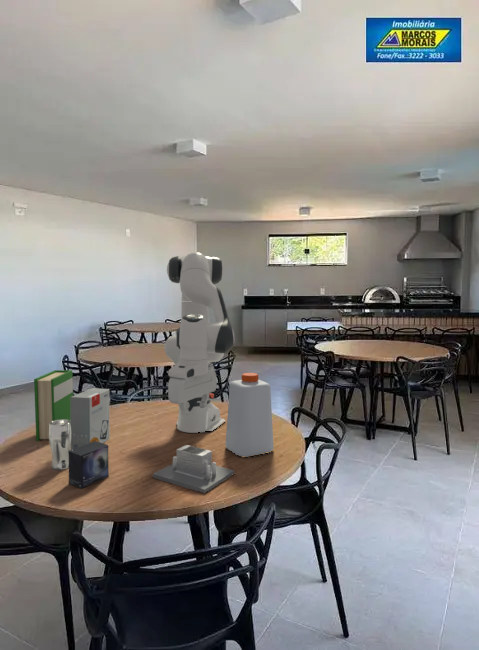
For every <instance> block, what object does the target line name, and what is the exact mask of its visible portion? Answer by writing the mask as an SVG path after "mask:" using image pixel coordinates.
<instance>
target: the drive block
mask: <svg viewBox="0 0 479 650" xmlns="http://www.w3.org/2000/svg"><path fill="white" fill-rule="evenodd" d="M212 455H213V451H212V450H209V449H204V448H201V447H198V446H197V447H196V446H192V445H188V444H185V445H183V446H181V447H179V448H177V449H176V457H177V471H179V472H182V473H185V474H189V475H192V476H196V477H199V478H204V477H205V476H206V466H207V465H210V473H212V462H213V461H212V460H213V457H212Z"/></svg>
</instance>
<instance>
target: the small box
mask: <svg viewBox="0 0 479 650" xmlns="http://www.w3.org/2000/svg"><path fill="white" fill-rule="evenodd" d="M68 453H69V468H68V484H69V485H71V486H74V487H76V488H79V489H85V488H86V487H89V486H91V485H93V484H95V483H97V482H100V481H102V480H105V479H107V478H109V475H110V473H109V445H108V444H105V443H100V442H97V441H94V442H92V443H89V444H86V445H83V446H80V447H77V448H75V449H72V450H71V449H70V450H69V451H68Z"/></svg>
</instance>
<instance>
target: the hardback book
mask: <svg viewBox="0 0 479 650" xmlns="http://www.w3.org/2000/svg"><path fill="white" fill-rule="evenodd" d="M33 381H34V382H33V383H34V384H33V385H34V386H33V387H34V388H33V389H34V409H35V410H34V412H35V413H34V414H35V415H34V416H35V417H34V418H35V437H36V438H35V440H36V442H40V441H41V440H49V423H50V422H52V421H55V420H61V419H66V420H70V421H71V404H70V398H71V397H72V396H74V385H73V384H74V382H73V381H74V378H73V370H70V369H68V370H67V369H65V370H61V369H59V370H58V369H56V370H53V371H50V372H48V373H46V374H45V373H44V374H43V375H41V376H39V377H36V378H33Z"/></svg>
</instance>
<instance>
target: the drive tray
mask: <svg viewBox="0 0 479 650" xmlns="http://www.w3.org/2000/svg"><path fill="white" fill-rule="evenodd" d="M234 473H236V472H235V470H234V469H230V468H225V467H223V466H219V465H217V462H215V461H212V473H210V465H207V466H206V476H205V477H204V478H199V477H196V476H192V475H189V474H185V473H182V472H179V471H177V455H176V456H175V455H174V456H172V463H171V464H170V465H167V466H166V467H163V468H162V469H159V470H158V471H156V472H153V473H152V478H153V479H156V480H159V481H162V482H165V483H169V484H172V485H176V486H179V487H182V488H185V489H188V490H189V489H190V490H192V491H196V492H198V491H200V492H199V493H201V492H203V493H202V494H204V493H205V494H207V493H208V492H210V491H211V490H213V489H214V488H216V487H217V486H219V485H220V484H222V483H223V482H225V481H226V480H228V479H229V478H231V477H232V476H231V475H232V474H234ZM234 475H235V474H234ZM230 476H231V477H230ZM228 477H229V478H228ZM227 478H228V479H227ZM225 479H226V480H225ZM224 480H225V481H224ZM222 481H223V482H222ZM221 482H222V483H221ZM219 483H220V484H219ZM218 484H219V485H218ZM216 485H217V486H216ZM215 486H216V487H215ZM212 488H213V489H212ZM209 490H210V491H209ZM207 491H208V492H207ZM206 492H207V493H206Z"/></svg>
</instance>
